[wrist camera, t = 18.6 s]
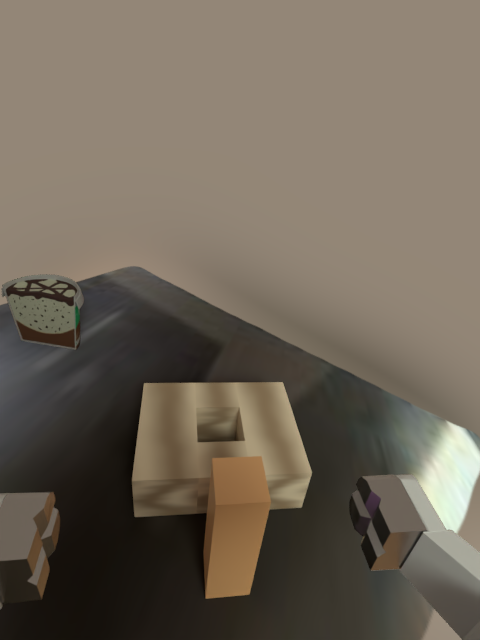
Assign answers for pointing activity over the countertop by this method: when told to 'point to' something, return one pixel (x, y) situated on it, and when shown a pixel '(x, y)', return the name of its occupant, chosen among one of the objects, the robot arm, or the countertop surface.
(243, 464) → the plug
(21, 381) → the countertop surface
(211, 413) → the socket
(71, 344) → the food container
